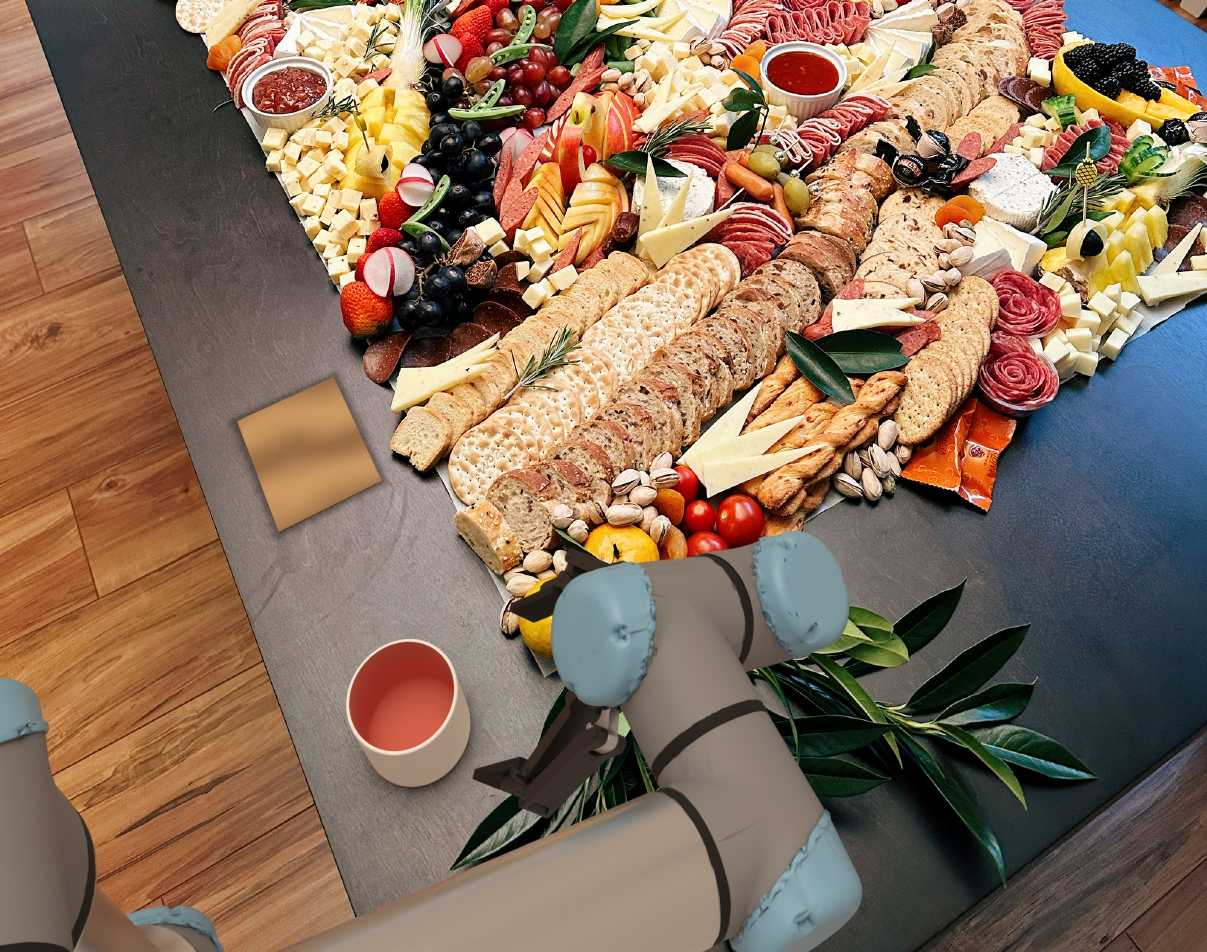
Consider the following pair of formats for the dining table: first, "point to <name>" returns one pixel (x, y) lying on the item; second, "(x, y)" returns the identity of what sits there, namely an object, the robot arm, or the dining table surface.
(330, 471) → the cork mat
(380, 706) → the cup
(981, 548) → the dining table surface
